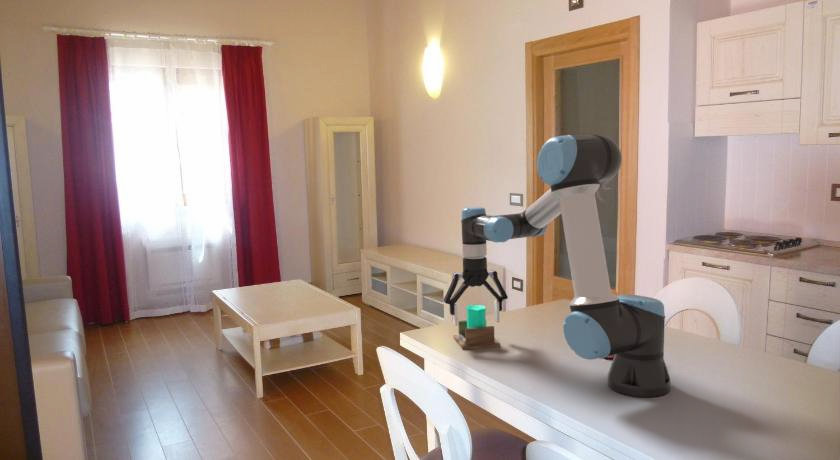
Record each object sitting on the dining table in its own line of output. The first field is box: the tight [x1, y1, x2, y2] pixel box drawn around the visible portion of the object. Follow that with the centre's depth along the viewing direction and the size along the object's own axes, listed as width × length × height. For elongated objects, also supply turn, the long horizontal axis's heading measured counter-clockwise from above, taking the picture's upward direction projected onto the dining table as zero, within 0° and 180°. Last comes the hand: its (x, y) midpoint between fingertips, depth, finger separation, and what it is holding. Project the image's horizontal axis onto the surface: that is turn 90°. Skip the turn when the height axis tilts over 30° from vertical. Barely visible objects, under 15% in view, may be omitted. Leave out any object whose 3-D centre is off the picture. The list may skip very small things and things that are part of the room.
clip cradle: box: [453, 319, 501, 350], centre depth 197 cm, size 12×12×6 cm
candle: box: [466, 304, 487, 328], centre depth 196 cm, size 6×6×12 cm
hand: (476, 323), depth 196 cm, fingers open, 13 cm apart
